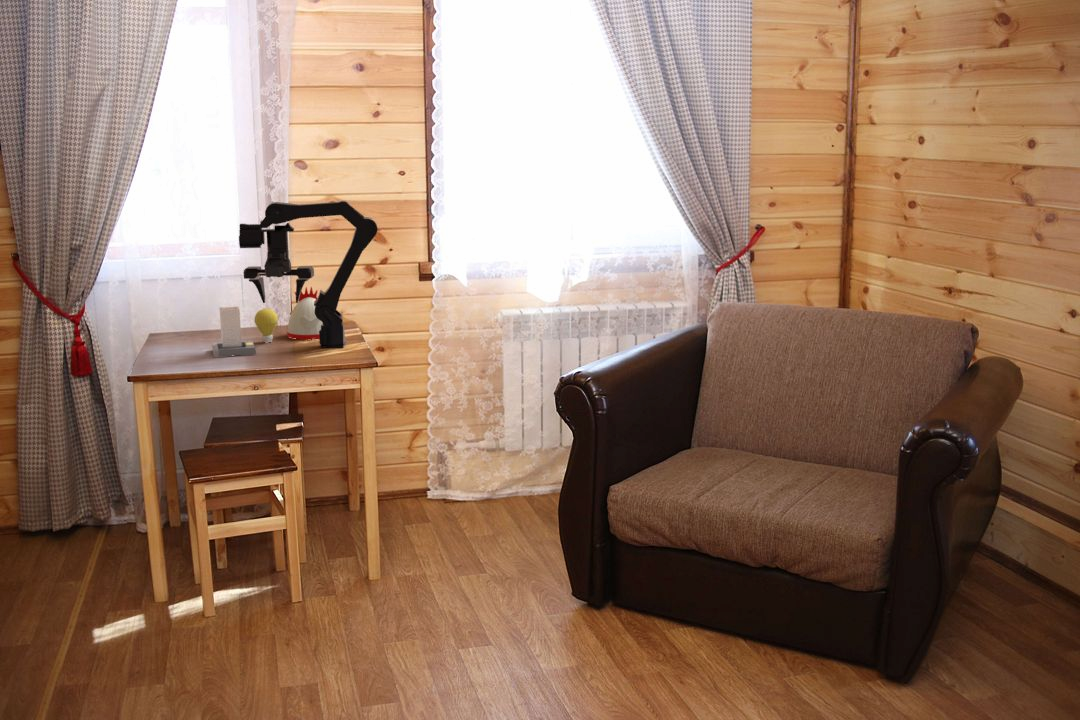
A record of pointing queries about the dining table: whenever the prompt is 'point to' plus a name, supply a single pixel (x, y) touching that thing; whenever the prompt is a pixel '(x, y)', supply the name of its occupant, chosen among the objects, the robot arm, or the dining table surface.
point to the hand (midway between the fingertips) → (280, 302)
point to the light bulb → (266, 323)
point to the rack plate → (234, 349)
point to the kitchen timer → (304, 318)
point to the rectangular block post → (230, 327)
